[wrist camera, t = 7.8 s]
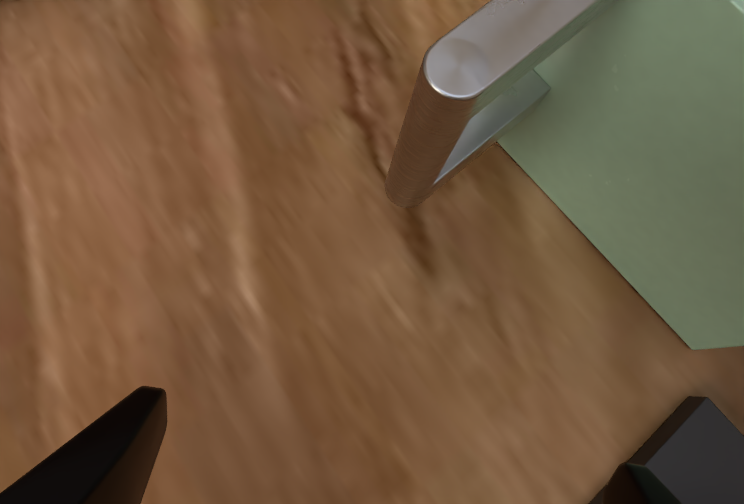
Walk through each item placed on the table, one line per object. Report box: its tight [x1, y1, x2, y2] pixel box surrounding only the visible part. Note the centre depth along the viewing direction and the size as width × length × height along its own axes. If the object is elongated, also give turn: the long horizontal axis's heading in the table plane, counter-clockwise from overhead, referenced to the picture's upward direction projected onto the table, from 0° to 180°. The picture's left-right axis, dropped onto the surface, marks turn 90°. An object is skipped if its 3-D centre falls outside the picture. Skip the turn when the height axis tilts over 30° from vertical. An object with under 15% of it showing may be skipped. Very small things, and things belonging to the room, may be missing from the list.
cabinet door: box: [385, 0, 744, 350], centre depth 18 cm, size 8×15×12 cm, turn 41°
